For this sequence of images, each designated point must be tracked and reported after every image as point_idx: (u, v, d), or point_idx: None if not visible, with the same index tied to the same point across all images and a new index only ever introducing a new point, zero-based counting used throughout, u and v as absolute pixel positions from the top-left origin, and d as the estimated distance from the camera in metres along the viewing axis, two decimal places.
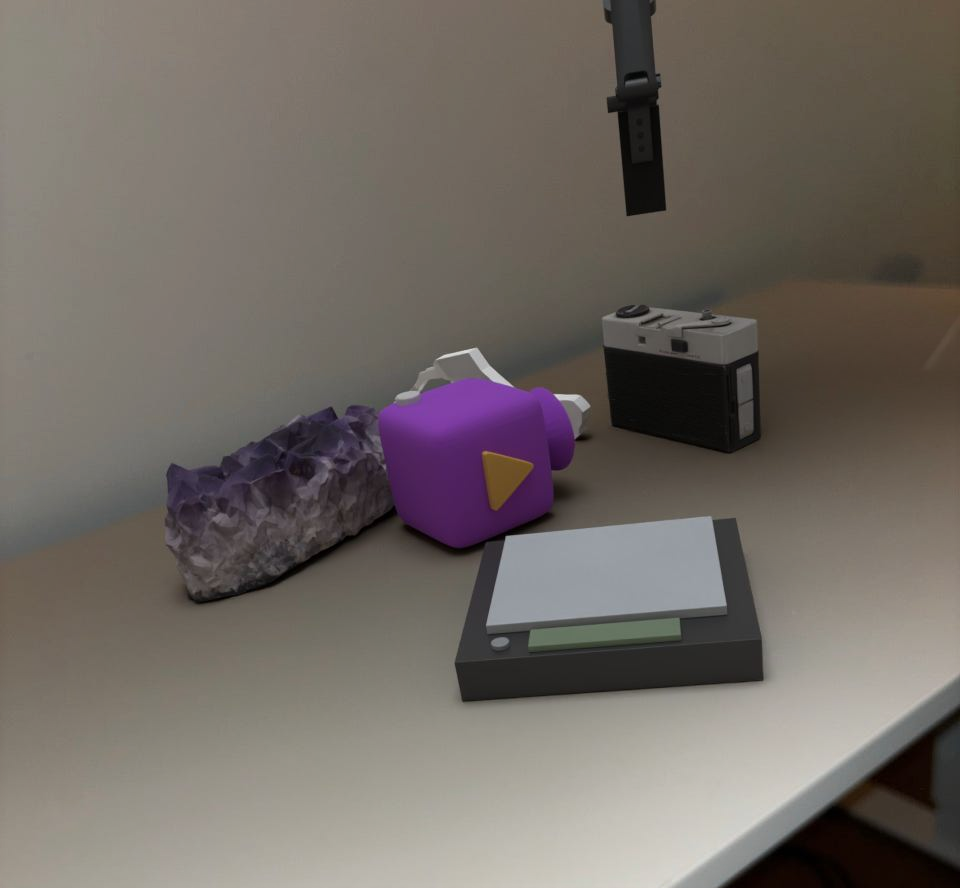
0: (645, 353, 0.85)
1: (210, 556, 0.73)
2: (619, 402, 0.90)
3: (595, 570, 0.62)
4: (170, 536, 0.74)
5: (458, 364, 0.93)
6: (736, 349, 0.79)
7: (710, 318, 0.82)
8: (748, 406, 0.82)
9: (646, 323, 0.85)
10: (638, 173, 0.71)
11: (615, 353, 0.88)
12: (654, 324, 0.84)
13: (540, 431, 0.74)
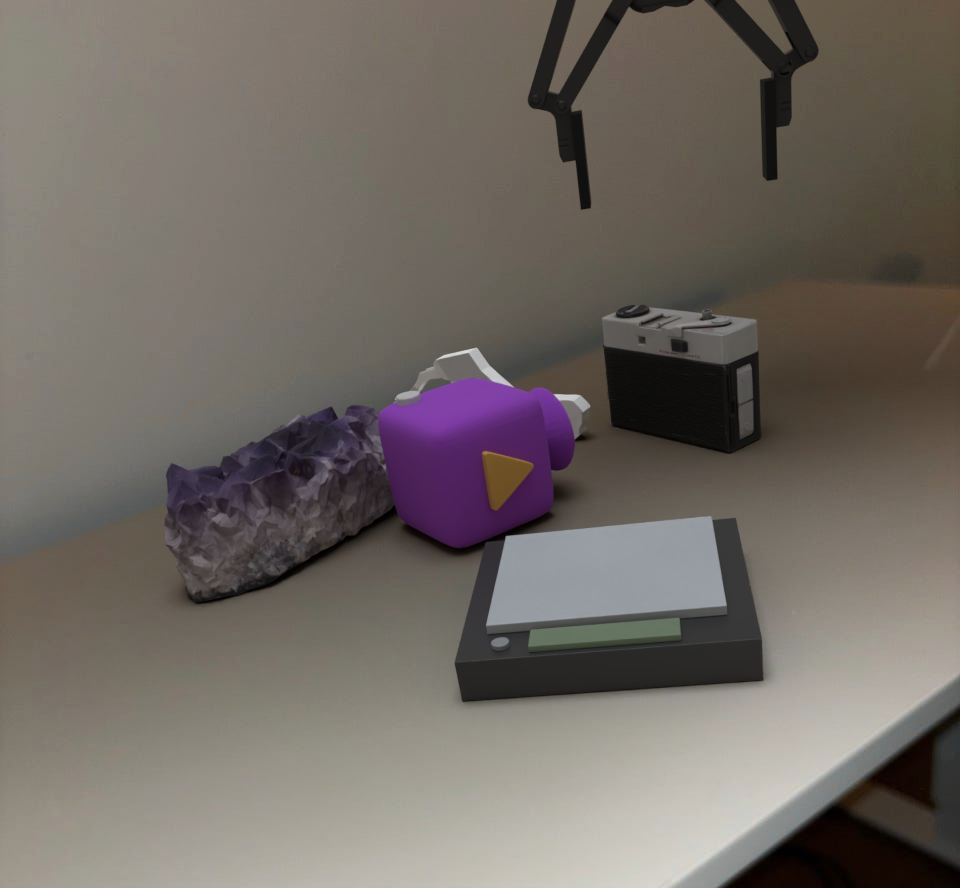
0: (645, 353, 0.85)
1: (210, 556, 0.73)
2: (619, 402, 0.90)
3: (595, 570, 0.62)
4: (170, 536, 0.74)
5: (458, 364, 0.93)
6: (736, 349, 0.79)
7: (710, 318, 0.82)
8: (748, 406, 0.82)
9: (646, 323, 0.85)
10: None
11: (615, 353, 0.88)
12: (654, 324, 0.84)
13: (540, 431, 0.74)
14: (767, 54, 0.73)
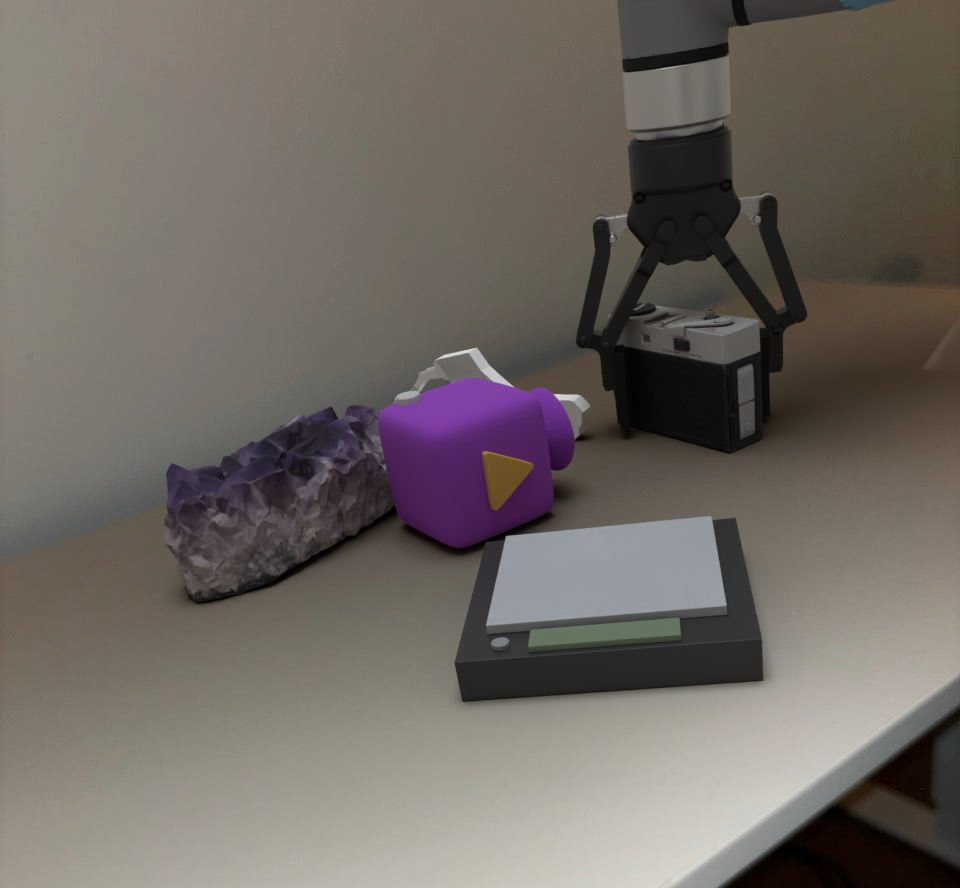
0: (649, 351, 0.85)
1: (210, 556, 0.73)
2: None
3: (595, 570, 0.62)
4: (170, 536, 0.74)
5: (458, 364, 0.93)
6: (737, 349, 0.79)
7: (713, 317, 0.82)
8: (749, 406, 0.82)
9: (650, 321, 0.85)
10: None
11: None
12: (658, 323, 0.84)
13: (540, 431, 0.74)
14: (763, 313, 0.83)
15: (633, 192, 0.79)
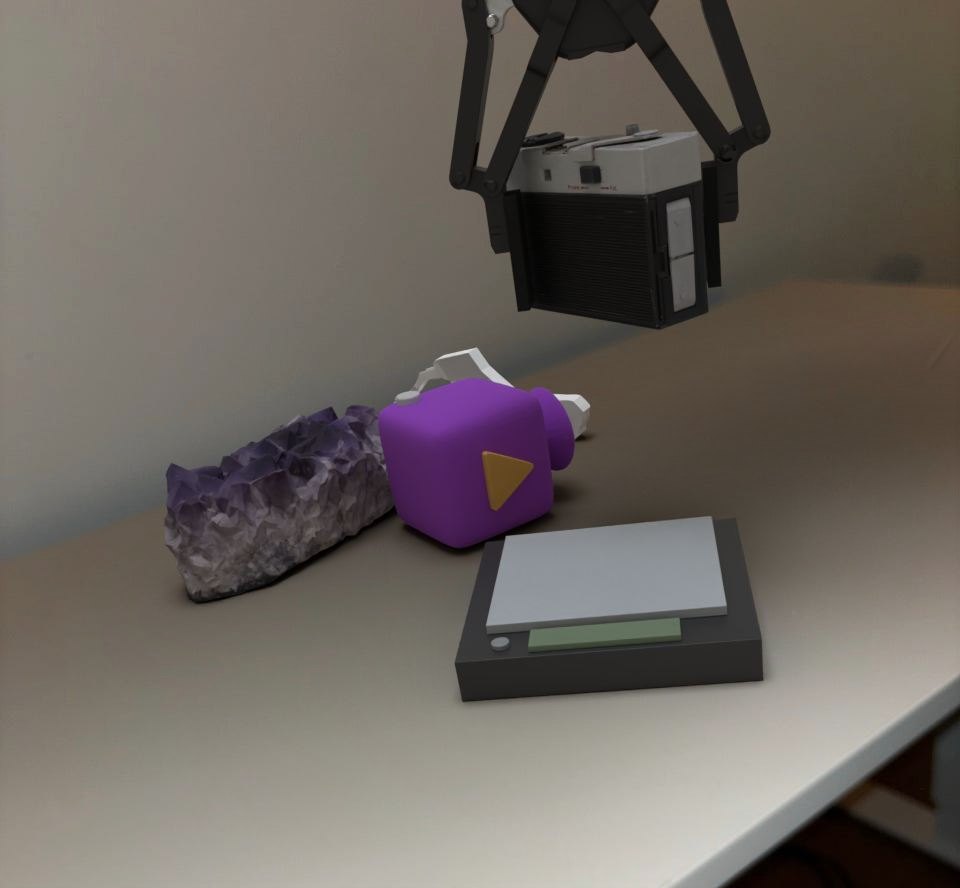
0: (551, 193, 0.61)
1: (210, 556, 0.73)
2: None
3: (595, 570, 0.62)
4: (170, 536, 0.74)
5: (458, 364, 0.93)
6: (665, 173, 0.55)
7: None
8: (686, 262, 0.57)
9: (552, 149, 0.60)
10: None
11: None
12: (562, 150, 0.60)
13: (540, 431, 0.74)
14: (708, 131, 0.58)
15: None
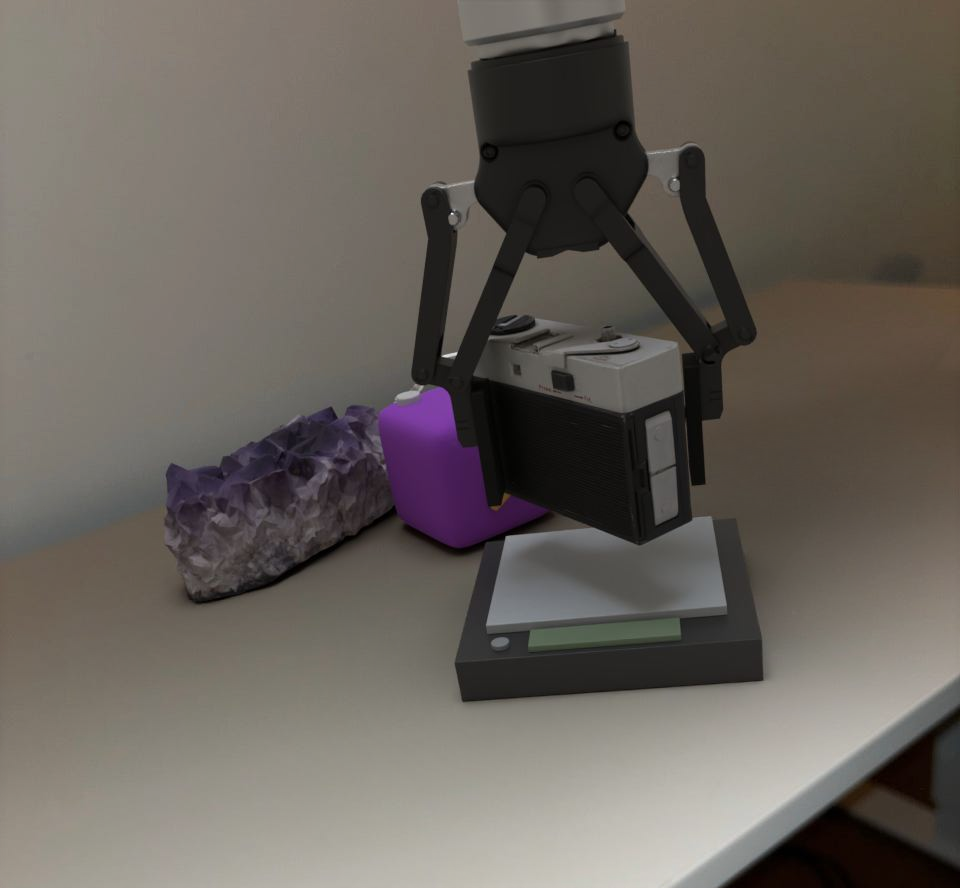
0: (522, 389, 0.57)
1: (210, 556, 0.73)
2: None
3: (595, 570, 0.62)
4: (170, 536, 0.74)
5: None
6: (644, 390, 0.50)
7: (612, 339, 0.53)
8: (668, 476, 0.53)
9: (522, 344, 0.56)
10: None
11: None
12: (532, 346, 0.55)
13: None
14: (690, 332, 0.54)
15: (479, 144, 0.51)
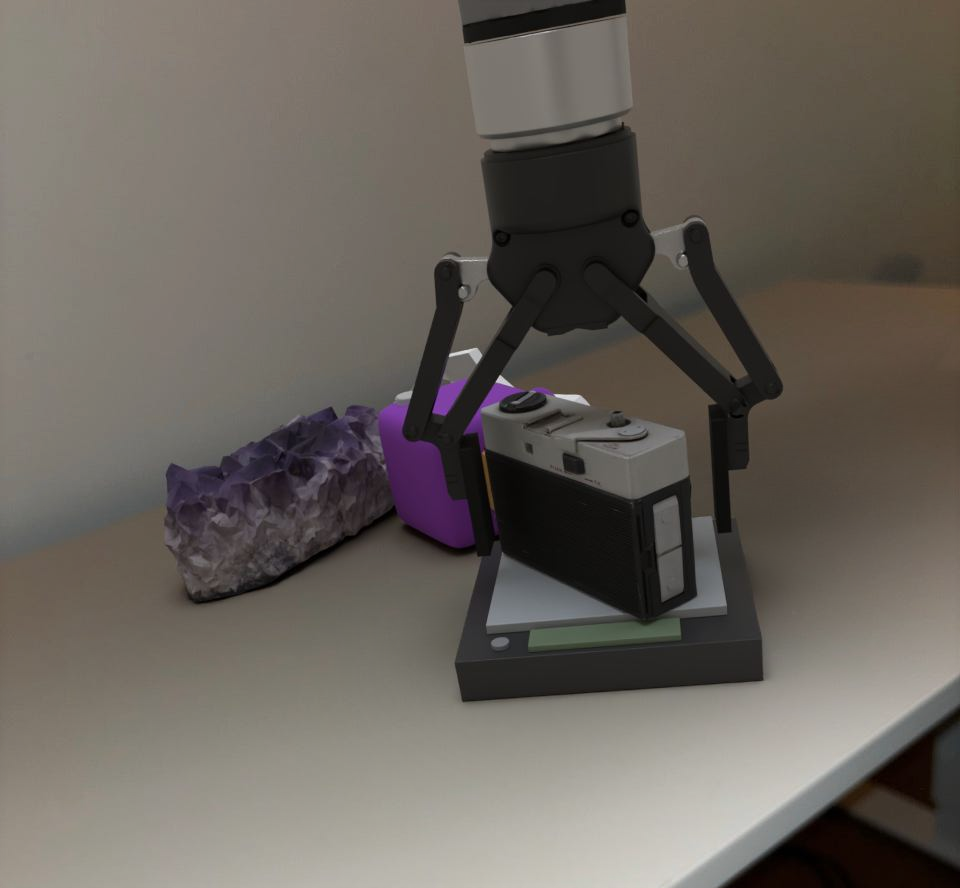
0: (533, 466, 0.59)
1: (209, 556, 0.73)
2: (508, 526, 0.64)
3: None
4: (169, 536, 0.74)
5: (458, 364, 0.93)
6: (652, 477, 0.53)
7: (621, 423, 0.55)
8: (674, 556, 0.55)
9: (534, 424, 0.58)
10: None
11: (498, 461, 0.62)
12: (544, 427, 0.58)
13: None
14: (714, 389, 0.55)
15: (492, 229, 0.52)
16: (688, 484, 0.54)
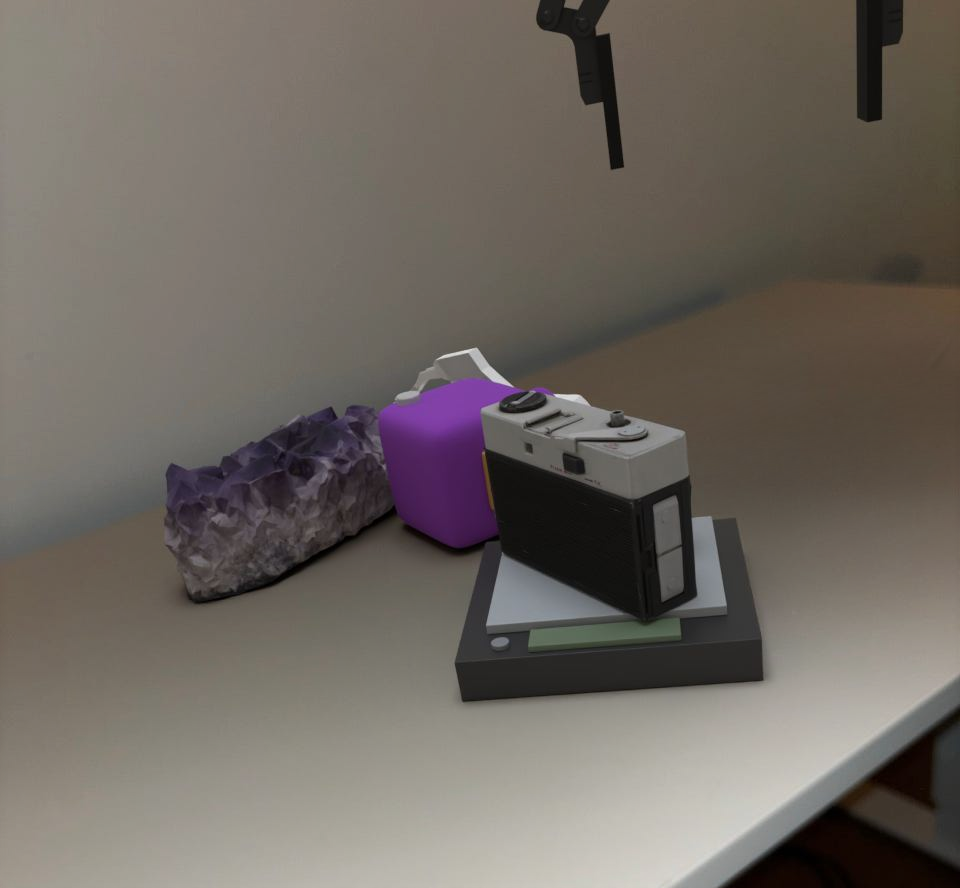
0: (533, 466, 0.59)
1: (209, 556, 0.73)
2: (508, 526, 0.64)
3: None
4: (169, 536, 0.74)
5: (458, 364, 0.93)
6: (652, 477, 0.53)
7: (621, 423, 0.55)
8: (674, 556, 0.55)
9: (534, 424, 0.58)
10: None
11: (498, 461, 0.62)
12: (544, 427, 0.58)
13: None
14: None
15: None
16: (688, 484, 0.54)
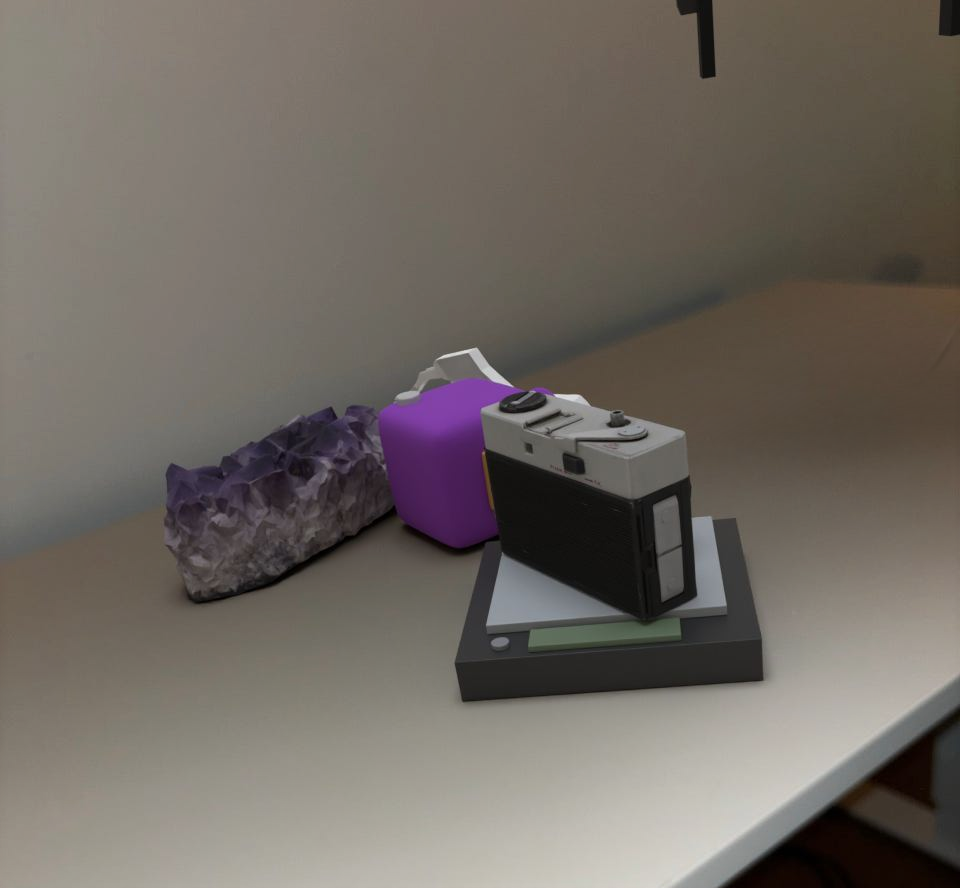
0: (533, 466, 0.59)
1: (209, 556, 0.73)
2: (508, 526, 0.64)
3: None
4: (169, 536, 0.74)
5: (458, 364, 0.93)
6: (652, 477, 0.53)
7: (621, 423, 0.55)
8: (674, 556, 0.55)
9: (534, 424, 0.58)
10: (698, 27, 0.62)
11: (498, 461, 0.62)
12: (544, 427, 0.58)
13: None
14: None
15: None
16: (688, 484, 0.54)
